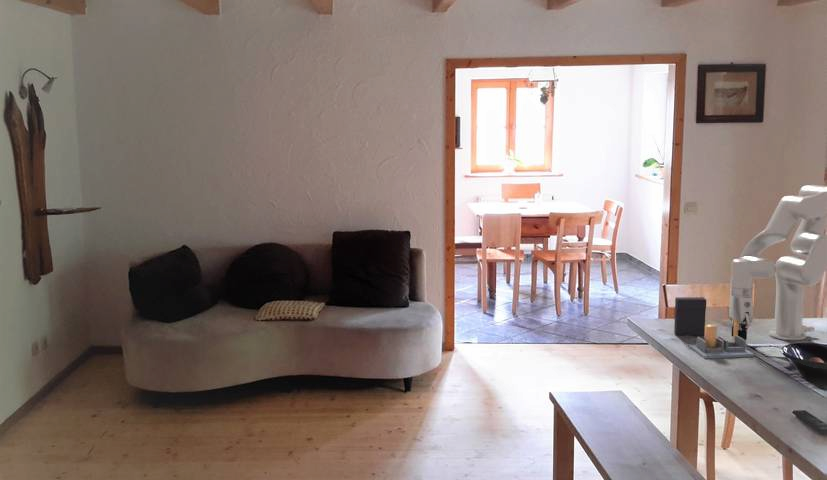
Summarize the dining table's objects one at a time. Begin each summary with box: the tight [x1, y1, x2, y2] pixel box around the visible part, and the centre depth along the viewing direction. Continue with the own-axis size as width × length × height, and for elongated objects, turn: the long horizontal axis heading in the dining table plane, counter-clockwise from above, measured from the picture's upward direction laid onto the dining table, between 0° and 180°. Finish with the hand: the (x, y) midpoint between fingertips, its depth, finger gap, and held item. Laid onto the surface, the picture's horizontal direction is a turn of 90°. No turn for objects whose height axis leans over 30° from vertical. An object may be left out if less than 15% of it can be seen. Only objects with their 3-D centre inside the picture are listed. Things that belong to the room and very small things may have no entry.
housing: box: [688, 323, 755, 359], centre depth 256 cm, size 18×13×10 cm
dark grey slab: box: [673, 296, 707, 337], centre depth 277 cm, size 11×4×15 cm, turn 84°
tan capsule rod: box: [732, 320, 745, 342], centre depth 266 cm, size 4×4×9 cm
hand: (738, 337), depth 267 cm, fingers closed on tan capsule rod, 4 cm apart
